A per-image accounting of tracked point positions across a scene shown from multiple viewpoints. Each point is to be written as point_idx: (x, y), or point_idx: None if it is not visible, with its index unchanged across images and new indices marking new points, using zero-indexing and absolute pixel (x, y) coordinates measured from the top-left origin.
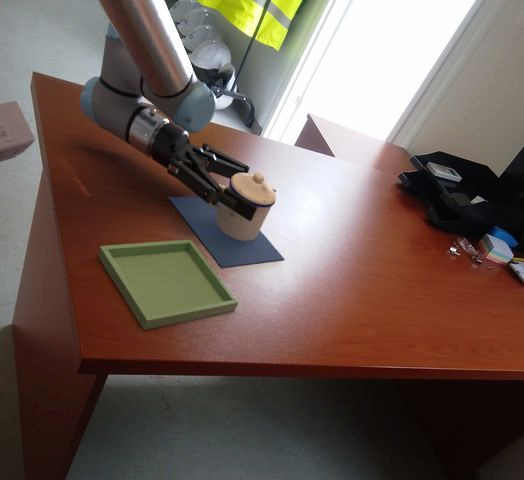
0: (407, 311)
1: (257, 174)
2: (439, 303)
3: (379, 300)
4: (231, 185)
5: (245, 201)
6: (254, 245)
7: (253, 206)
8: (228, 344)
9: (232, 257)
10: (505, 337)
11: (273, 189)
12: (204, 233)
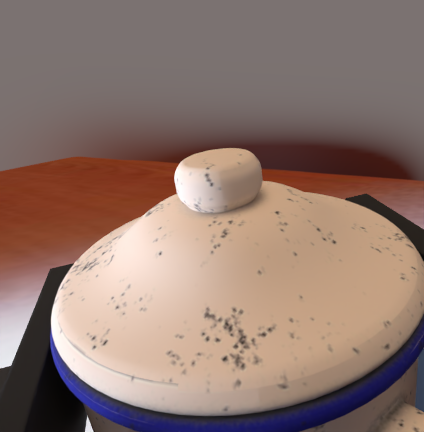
0: (86, 203)
1: (224, 161)
2: (6, 204)
3: (101, 220)
4: (421, 324)
5: (401, 221)
6: None
7: (370, 201)
8: None
9: (417, 380)
10: (17, 172)
11: (52, 276)
12: None
